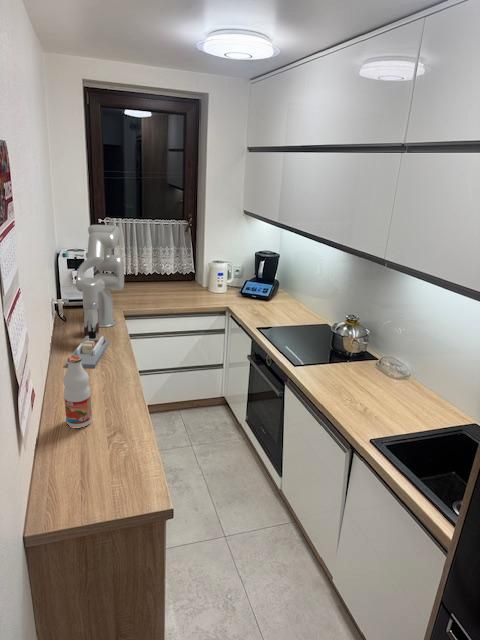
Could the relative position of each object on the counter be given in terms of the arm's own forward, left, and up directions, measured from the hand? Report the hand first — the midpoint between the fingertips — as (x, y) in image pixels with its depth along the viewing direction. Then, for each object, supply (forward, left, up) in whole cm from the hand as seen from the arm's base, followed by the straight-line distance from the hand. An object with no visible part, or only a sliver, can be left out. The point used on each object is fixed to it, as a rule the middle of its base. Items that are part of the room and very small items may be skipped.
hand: (92, 338), depth 233 cm
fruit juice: (+69, +13, -6) cm, 71 cm away
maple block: (+8, 0, -4) cm, 9 cm away
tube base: (+8, 0, -6) cm, 10 cm away
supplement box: (-17, -5, -6) cm, 18 cm away
